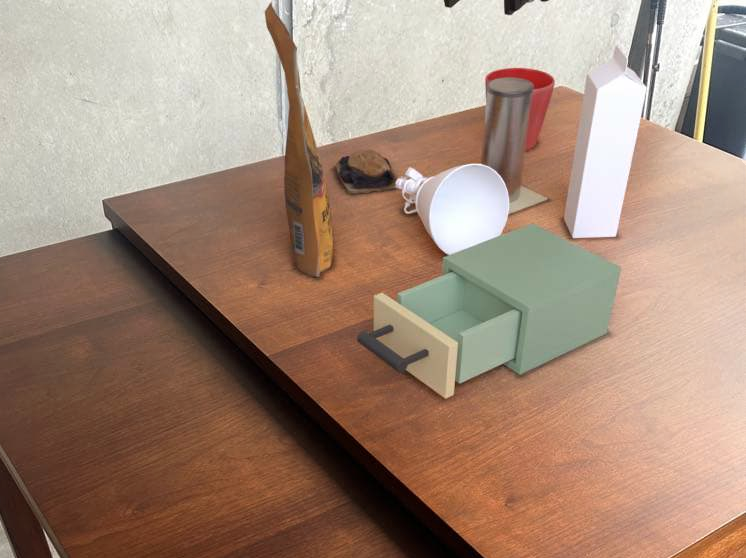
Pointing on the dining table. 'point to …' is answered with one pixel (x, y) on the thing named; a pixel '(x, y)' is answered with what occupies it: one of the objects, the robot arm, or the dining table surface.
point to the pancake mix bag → (302, 167)
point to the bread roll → (365, 172)
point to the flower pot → (539, 96)
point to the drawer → (443, 331)
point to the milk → (604, 148)
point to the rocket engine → (458, 205)
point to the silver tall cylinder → (507, 130)
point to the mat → (526, 200)
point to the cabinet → (543, 289)
